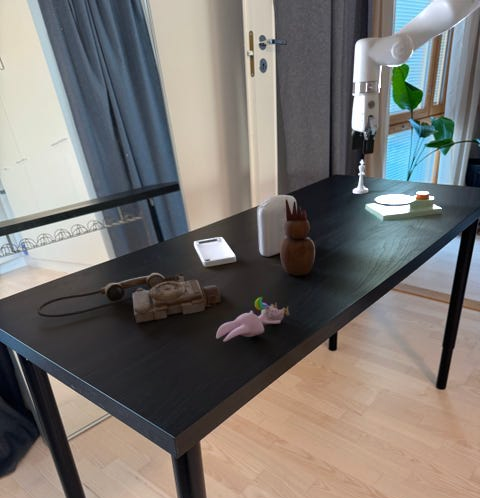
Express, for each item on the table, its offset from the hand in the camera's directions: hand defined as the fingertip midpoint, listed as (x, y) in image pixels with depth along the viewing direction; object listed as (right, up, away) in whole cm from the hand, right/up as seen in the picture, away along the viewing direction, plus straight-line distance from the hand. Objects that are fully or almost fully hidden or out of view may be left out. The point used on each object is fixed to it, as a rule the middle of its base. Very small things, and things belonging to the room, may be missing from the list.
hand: (361, 151), depth 130 cm
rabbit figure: (-36, -55, -63) cm, 91 cm away
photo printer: (-29, -36, -32) cm, 57 cm away
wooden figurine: (-26, -43, -44) cm, 67 cm away
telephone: (-58, -50, -51) cm, 92 cm away
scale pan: (+4, -20, -17) cm, 27 cm away
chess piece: (+1, -11, +6) cm, 13 cm away
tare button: (+12, -20, -16) cm, 28 cm away
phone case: (-44, -37, -31) cm, 65 cm away
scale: (+6, -23, -15) cm, 28 cm away
